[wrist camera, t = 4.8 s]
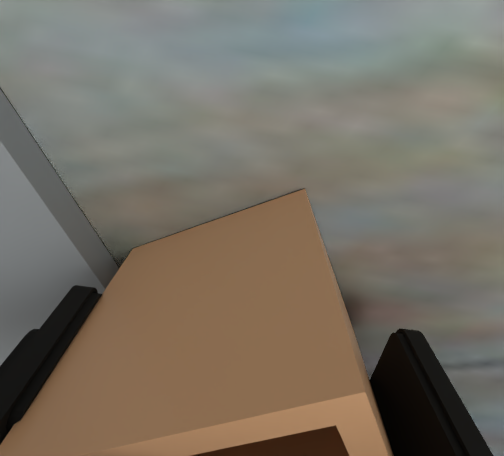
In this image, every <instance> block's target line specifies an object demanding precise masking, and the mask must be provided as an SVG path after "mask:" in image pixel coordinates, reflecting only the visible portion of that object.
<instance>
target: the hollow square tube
mask: <svg viewBox="0 0 504 456" xmlns="http://www.w3.org/2000/svg"><path fill="white" fill-rule="evenodd" d="M0 456H394V455H393V452H392V449H391V445H390V442H389V439H388V436H387V433H386V430H385V427H384V424H383V421H382V417H381V414H380V411H379V408H378V405H377V402H376V399H375V396H374V393H373V389H372V386H371V383H370V380H369V377H368V374H367V371H366V368H365V364H364V361H363V358H362V355H361V352H360V349H359V346H358V343H357V339H356V336H355V333H354V330H353V327H352V324H351V321H350V319H349V316H348V313H347V310H346V307H345V304H344V301H343V298H342V295H341V292H340V289H339V286H338V284H337V281H336V278H335V275H334V272H333V269H332V266H331V263H330V260H329V257H328V254H327V251H326V249H325V246H324V243H323V240H322V237H321V234H320V231H319V228H318V225H317V222H316V219H315V216H314V214H313V211H312V208H311V205H310V202H309V199H308V196H307V193H306V190H305V189H303V190H300V191H297V192H294V193H291V194H288V195H285V196H282V197H280V198H277V199H274V200H271V201H268V202H265V203H262V204H259V205H257V206H254V207H251V208H248V209H245V210H242V211H239V212H237V213H234V214H231V215H228V216H225V217H222V218H219V219H216V220H214V221H211V222H208V223H205V224H202V225H199V226H196V227H193V228H191V229H188V230H185V231H182V232H179V233H176V234H173V235H171V236H168V237H165V238H162V239H159V240H156V241H153V242H150V243H148V244H145V245H142V246H139V247H136V248H133V249H132V251H131V252H130V254H129V255H128V256H127V258H126V259H125V261H124V262H123V264H122V265H121V267H120V268H119V270H118V271H117V273H116V274H115V276H114V277H113V279H112V280H111V282H110V283H109V285H108V286H107V288H106V289H105V291H104V292H103V294H102V296H101V298H100V299H99V301H98V302H97V304H96V305H95V307H94V308H93V310H92V311H91V313H90V314H89V316H88V318H87V319H86V321H85V322H84V324H83V325H82V327H81V328H80V330H79V331H78V333H77V334H76V336H75V338H74V339H73V341H72V342H71V344H70V345H69V347H68V348H67V350H66V351H65V353H64V354H63V356H62V358H61V359H60V361H59V362H58V364H57V365H56V367H55V368H54V370H53V371H52V373H51V375H50V376H49V378H48V379H47V381H46V382H45V384H44V385H43V387H42V388H41V390H40V391H39V393H38V395H37V396H36V398H35V399H34V401H33V402H32V404H31V405H30V407H29V408H28V410H27V411H26V413H25V415H24V416H23V418H22V419H21V421H19V422H17V423H15V424H14V425H13V427H12V428H11V430H10V431H9V433H8V434H7V436H6V437H5V439H4V440H3V442H2V443H1V445H0Z"/></svg>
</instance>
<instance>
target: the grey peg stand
mask: <svg viewBox="0 0 504 456" xmlns="http://www.w3.org/2000/svg"><path fill="white" fill-rule="evenodd" d="M118 270H119V267H118V266H117V264H116V263H115V261H114V259H113V258H112V256H111V255H110V253H109V252H108V250H107V249H106V247H105V246H104V244H103V243H102V241H101V240H100V238H99V237H98V235H97V234H96V232H95V231H94V229H93V228H92V226H91V225H90V223H89V222H88V220H87V219H86V217H85V216H84V214H83V213H82V211H81V210H80V208H79V207H78V205H77V204H76V202H75V201H74V199H73V198H72V196H71V195H70V193H69V192H68V190H67V188H66V187H65V185H64V184H63V182H62V181H61V179H60V178H59V176H58V175H57V173H56V172H55V170H54V169H53V167H52V166H51V164H50V163H49V161H48V160H47V158H46V157H45V155H44V154H43V152H42V151H41V149H40V148H39V146H38V145H37V143H36V142H35V140H34V139H33V137H32V136H31V134H30V133H29V131H28V130H27V128H26V127H25V125H24V124H23V122H22V121H21V119H20V117H19V116H18V114H17V113H16V111H15V110H14V108H13V107H12V105H11V104H10V102H9V101H8V99H7V98H6V96H5V95H4V93H3V92H2V90H1V89H0V366H1V364H2V363H3V362H4V361H5V360H6V358H7V357H8V356H9V355H10V353H11V352H12V351H13V350H14V348H15V347H16V346H17V345H18V344H19V342H20V341H21V340H22V339H23V337H24V336H25V335H26V334H27V333H28V332H29V331H31V330H33V329H40V327H41V326H42V325H43V324H44V322H45V321H46V320H47V319H48V317H49V316H50V315H51V313H52V312H53V311H54V310H55V308H56V307H57V306H58V304H59V303H60V302H61V301H62V299H63V298H64V297H65V296H66V294H67V293H68V292H69V290H70V289H71V288H72V287H73V286H75V285H79V286H86V287H94V288H96V289H97V291H98V293H100V294H103V292H104V291H105V289H106V288H107V286H108V285H109V283H110V282H111V280H112V279H113V277H114V276H115V274H116V273H117V271H118Z"/></svg>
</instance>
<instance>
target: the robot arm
mask: <svg viewBox="0 0 504 456" xmlns="http://www.w3.org/2000/svg"><path fill="white" fill-rule="evenodd" d="M101 296H102V294H100V293H98V291H97V289H96V288H94V287H86V286H79V285H75V286H73V287H72V288H71V289H70V290H69V292H68V293H67V294H66V296H65V297H64V298H63V299H62V301H61V302H60V303H59V304H58V306H57V307H56V308H55V310H54V311H53V312H52V313H51V315H50V316H49V317H48V319H47V320H46V321H45V322H44V324H43V325H42V326H41V327H40V329H33V330H31V331H29V332H28V333H27V334H26V335H25V336H24V337H23V339H22V340H21V341H20V342H19V344H18V345H17V346H16V347H15V348H14V350H13V351H12V352H11V353H10V355H9V356H8V357H7V358H6V360H5V361H4V362H3V363H2V364H1V366H0V445H1V443H2V442H3V440H4V439H5V437H6V436H7V434H8V433H9V431H10V430H11V428H12V427H13V425H14V424H15V423H17V422H19V421H21V419H22V418H23V416H24V415H25V413H26V411H27V410H28V408H29V407H30V405H31V404H32V402H33V401H34V399H35V398H36V396H37V395H38V393H39V391H40V390H41V388H42V387H43V385H44V384H45V382H46V381H47V379H48V378H49V376H50V375H51V373H52V371H53V370H54V368H55V367H56V365H57V364H58V362H59V361H60V359H61V358H62V356H63V354H64V353H65V351H66V350H67V348H68V347H69V345H70V344H71V342H72V341H73V339H74V338H75V336H76V334H77V333H78V331H79V330H80V328H81V327H82V325H83V324H84V322H85V321H86V319H87V318H88V316H89V314H90V313H91V311H92V310H93V308H94V307H95V305H96V304H97V302H98V301H99V299H100V298H101ZM370 383H371V386H372V389H373V393H374V396H375V399H376V402H377V405H378V408H379V411H380V414H381V417H382V421H383V424H384V427H385V430H386V433H387V436H388V439H389V442H390V445H391V449H392V452H393V455H394V456H493V454H492V453H491V451H490V449H489V447H488V446H487V444H486V442H485V440H484V439H483V437H482V435H481V434H480V432H479V430H478V428H477V427H476V425H475V423H474V422H473V420H472V418H471V416H470V415H469V413H468V411H467V409H466V408H465V406H464V404H463V403H462V401H461V399H460V397H459V396H458V394H457V392H456V390H455V389H454V387H453V385H452V384H451V382H450V380H449V378H448V377H447V375H446V373H445V372H444V370H443V368H442V366H441V365H440V363H439V361H438V359H437V358H436V356H435V354H434V353H433V351H432V349H431V347H430V346H429V344H428V342H427V340H426V339H425V337H424V335H423V334H422V333H421V332H420V331H416V330H408V329H398V330H397V332H396V333H392V334H391V335H390V337H389V340H388V342H387V344H386V346H385V348H384V350H383V353H382V355H381V357H380V359H379V361H378V364H377V366H376V368H375V370H374V372H373V374H372V377H371V379H370Z"/></svg>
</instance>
